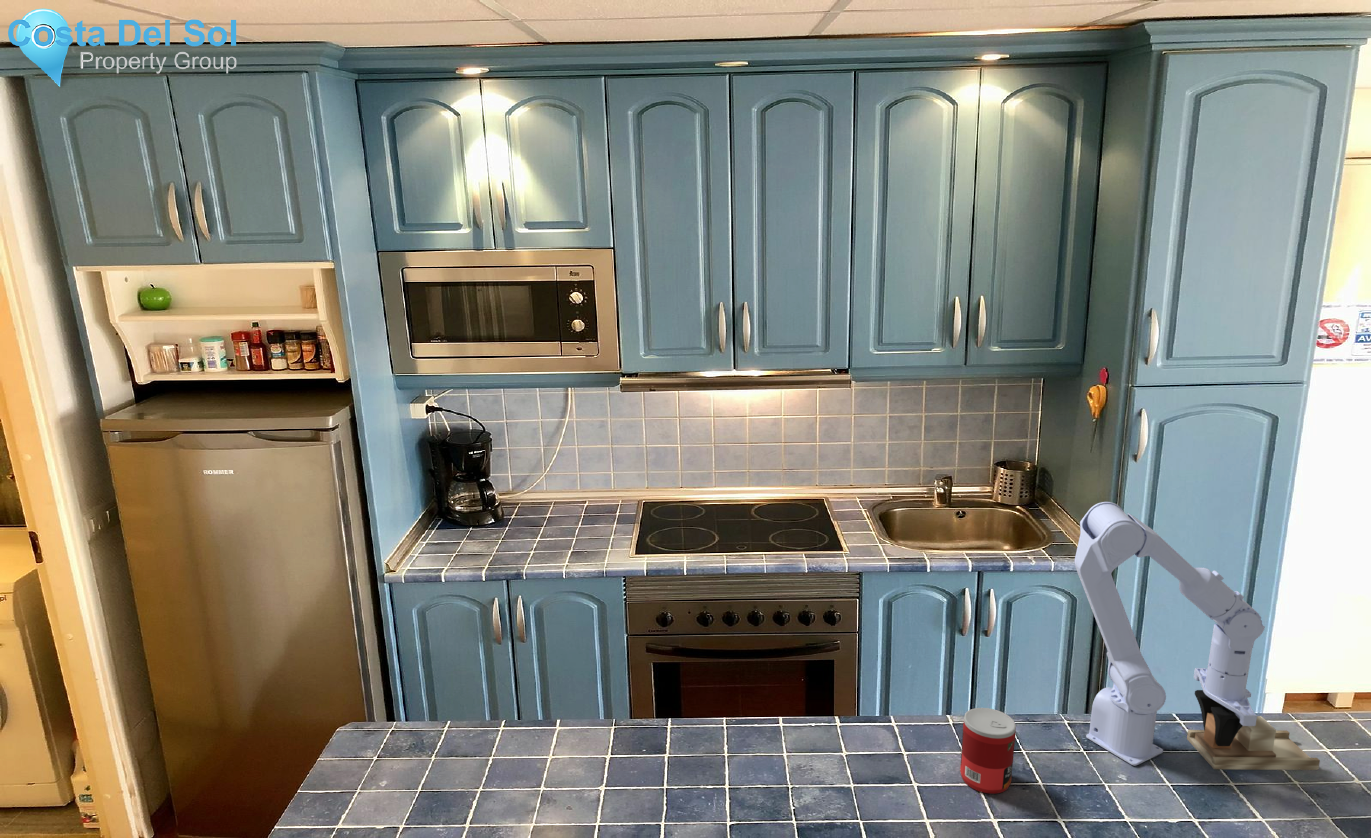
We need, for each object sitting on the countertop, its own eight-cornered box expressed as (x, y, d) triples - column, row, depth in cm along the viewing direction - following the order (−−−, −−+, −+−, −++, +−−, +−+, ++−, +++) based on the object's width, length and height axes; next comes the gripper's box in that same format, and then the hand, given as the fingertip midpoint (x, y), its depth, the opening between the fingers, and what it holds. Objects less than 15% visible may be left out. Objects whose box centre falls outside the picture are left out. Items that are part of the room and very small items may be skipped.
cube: (1248, 750, 143) (1251, 729, 142) (1234, 736, 147) (1237, 716, 146) (1272, 751, 143) (1276, 730, 142) (1257, 736, 147) (1261, 716, 146)
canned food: (1014, 798, 135) (1020, 737, 133) (962, 792, 137) (966, 731, 134) (1006, 767, 143) (1011, 709, 140) (957, 762, 144) (961, 704, 142)
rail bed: (1214, 769, 141) (1215, 759, 141) (1186, 738, 150) (1188, 729, 149) (1318, 770, 141) (1320, 760, 140) (1285, 739, 149) (1286, 730, 149)
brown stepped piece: (1214, 759, 142) (1219, 727, 141) (1194, 737, 148) (1199, 707, 147) (1275, 759, 142) (1280, 728, 141) (1253, 738, 148) (1258, 707, 146)
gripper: (1280, 691, 134) (1268, 766, 138) (1227, 645, 148) (1216, 714, 152) (1235, 691, 135) (1223, 765, 138) (1186, 645, 149) (1176, 714, 152)
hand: (1217, 738), depth 145 cm, fingers closed on brown stepped piece, 3 cm apart
